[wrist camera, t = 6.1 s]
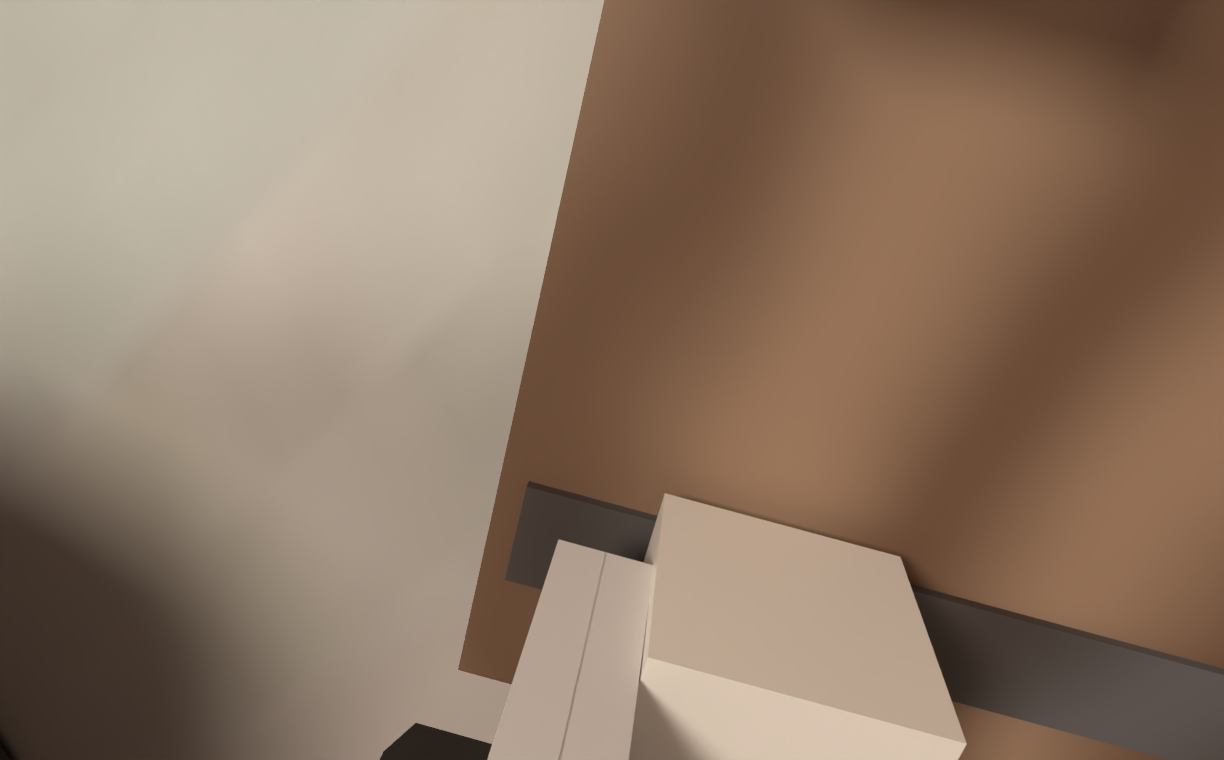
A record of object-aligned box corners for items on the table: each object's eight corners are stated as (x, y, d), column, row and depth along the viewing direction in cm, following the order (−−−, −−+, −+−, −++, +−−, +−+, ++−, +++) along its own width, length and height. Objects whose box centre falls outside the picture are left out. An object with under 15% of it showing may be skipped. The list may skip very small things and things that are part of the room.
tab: (614, 656, 15) (583, 851, 12) (664, 493, 14) (647, 657, 10) (829, 713, 15) (865, 928, 12) (900, 556, 14) (966, 744, 10)
